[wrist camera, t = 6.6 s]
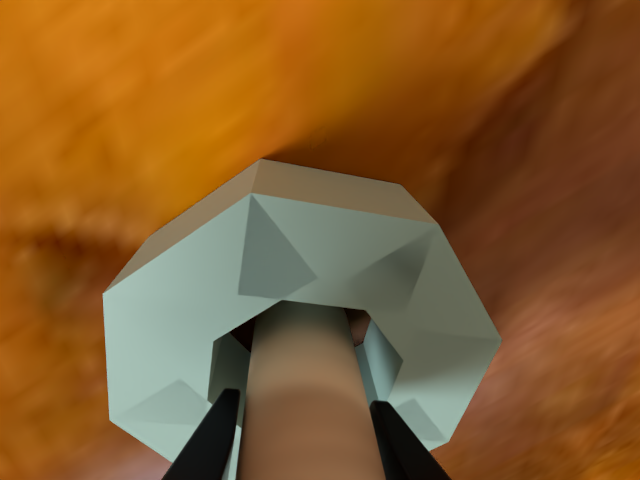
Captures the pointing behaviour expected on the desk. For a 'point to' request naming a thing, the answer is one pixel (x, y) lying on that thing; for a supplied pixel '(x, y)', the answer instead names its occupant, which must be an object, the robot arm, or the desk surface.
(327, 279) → the bead
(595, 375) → the desk surface
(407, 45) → the desk surface
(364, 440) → the beige cylindrical peg
